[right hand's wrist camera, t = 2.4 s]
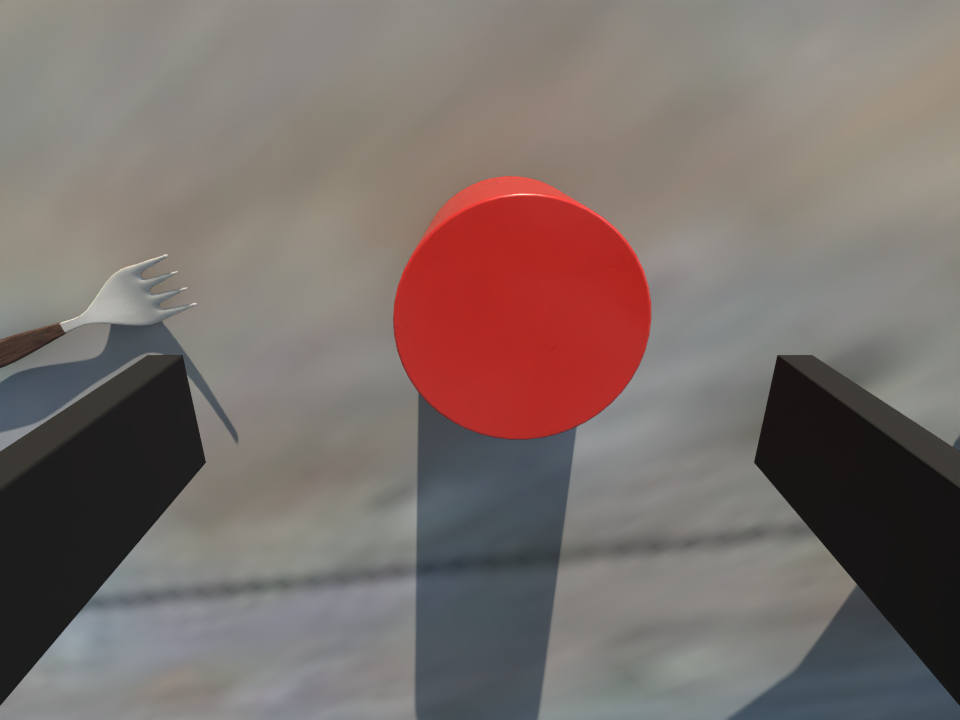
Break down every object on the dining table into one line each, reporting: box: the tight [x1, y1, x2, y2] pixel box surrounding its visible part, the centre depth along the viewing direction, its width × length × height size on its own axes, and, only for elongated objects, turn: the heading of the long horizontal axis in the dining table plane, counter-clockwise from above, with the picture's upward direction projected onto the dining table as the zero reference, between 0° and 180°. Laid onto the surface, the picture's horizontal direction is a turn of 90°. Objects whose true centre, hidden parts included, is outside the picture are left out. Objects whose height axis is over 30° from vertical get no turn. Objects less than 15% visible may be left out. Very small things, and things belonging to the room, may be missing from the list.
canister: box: [393, 177, 651, 439], centre depth 20 cm, size 8×8×8 cm
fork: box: [0, 254, 197, 368], centre depth 24 cm, size 3×16×2 cm, turn 111°
